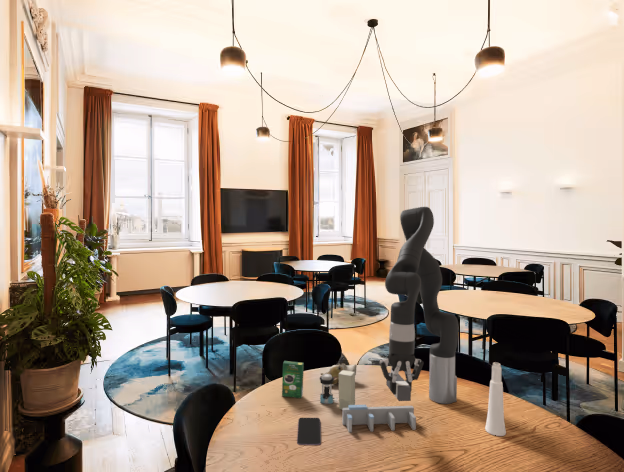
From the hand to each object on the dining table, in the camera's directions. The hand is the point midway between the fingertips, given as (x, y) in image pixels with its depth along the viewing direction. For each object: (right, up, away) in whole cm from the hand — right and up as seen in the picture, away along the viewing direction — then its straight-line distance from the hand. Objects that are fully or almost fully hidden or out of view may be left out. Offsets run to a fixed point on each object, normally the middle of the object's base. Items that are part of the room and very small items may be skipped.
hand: (400, 393), depth 114 cm
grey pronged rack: (-5, -14, +9) cm, 17 cm away
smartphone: (-28, -15, +4) cm, 32 cm away
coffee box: (-35, -14, +30) cm, 48 cm away
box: (-15, -14, +21) cm, 29 cm away
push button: (-21, -14, +25) cm, 36 cm away
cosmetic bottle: (+32, -15, +6) cm, 36 cm away
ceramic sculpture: (-15, -14, +44) cm, 49 cm away
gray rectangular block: (0, -1, +2) cm, 3 cm away
